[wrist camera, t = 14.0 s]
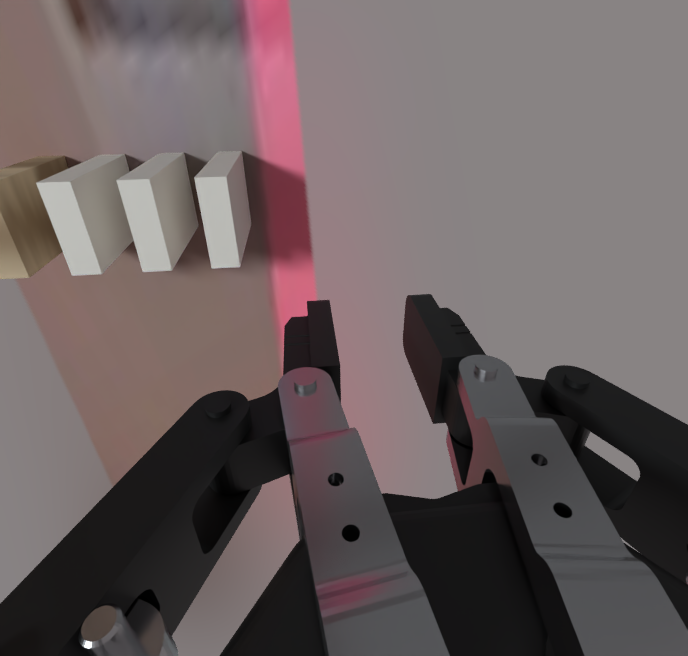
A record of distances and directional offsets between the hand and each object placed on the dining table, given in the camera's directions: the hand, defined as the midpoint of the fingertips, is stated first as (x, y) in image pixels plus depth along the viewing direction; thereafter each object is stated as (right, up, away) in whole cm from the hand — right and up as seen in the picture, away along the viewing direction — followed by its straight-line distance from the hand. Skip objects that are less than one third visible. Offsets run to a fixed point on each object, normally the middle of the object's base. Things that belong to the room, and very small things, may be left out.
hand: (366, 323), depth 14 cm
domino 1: (-20, +9, +15) cm, 26 cm away
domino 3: (-12, +9, +15) cm, 22 cm away
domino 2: (-16, +9, +15) cm, 24 cm away
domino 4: (-8, +10, +16) cm, 20 cm away
